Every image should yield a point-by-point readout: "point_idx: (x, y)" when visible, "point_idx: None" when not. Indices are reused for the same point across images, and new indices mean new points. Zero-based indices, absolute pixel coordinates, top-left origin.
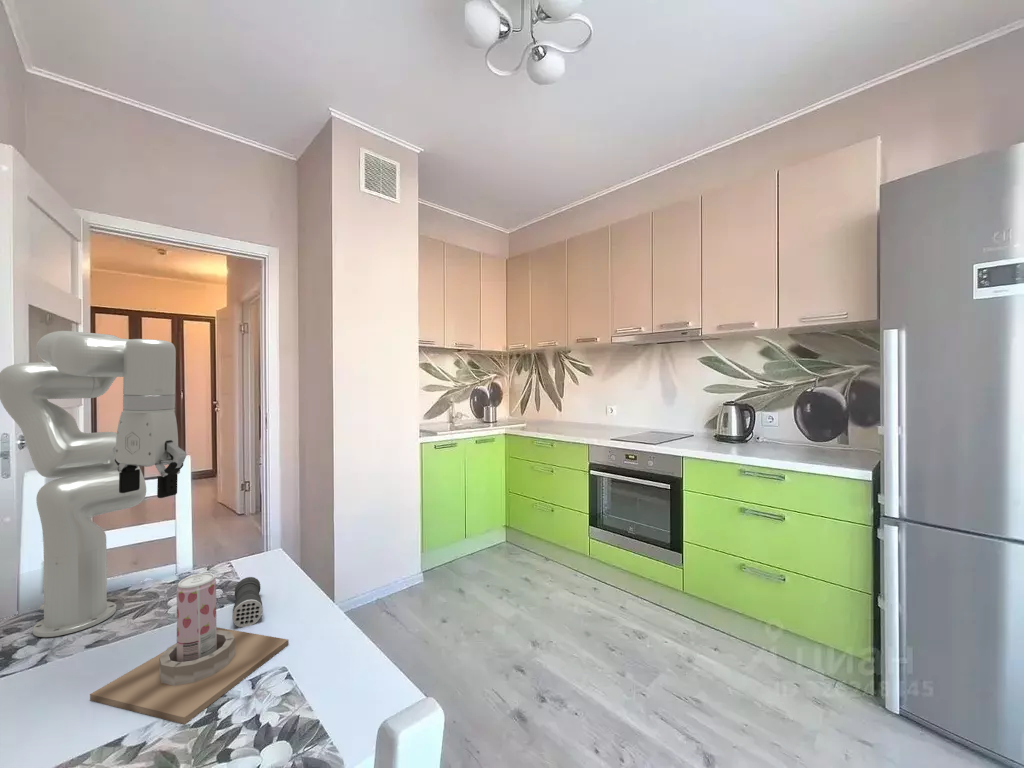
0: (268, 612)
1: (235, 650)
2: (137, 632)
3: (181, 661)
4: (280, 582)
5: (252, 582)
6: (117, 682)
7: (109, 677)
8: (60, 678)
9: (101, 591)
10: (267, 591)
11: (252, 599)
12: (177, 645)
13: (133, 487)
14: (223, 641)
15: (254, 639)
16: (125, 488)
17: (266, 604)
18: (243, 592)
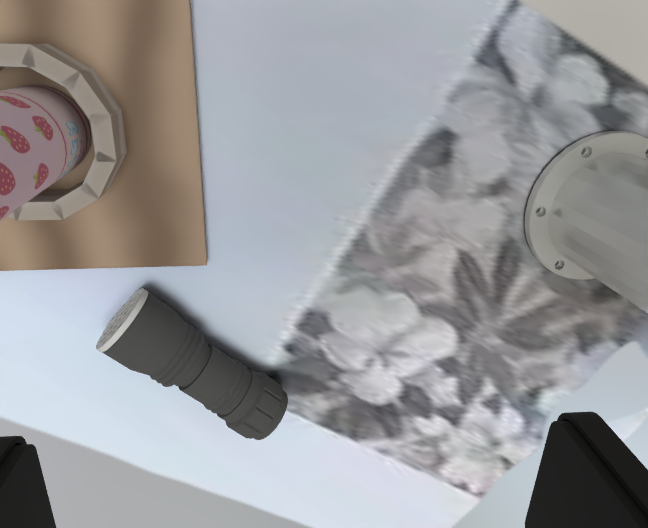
0: None
1: None
2: (386, 209)
3: (22, 87)
4: (250, 466)
5: (229, 418)
6: (169, 17)
7: (246, 49)
8: (367, 17)
9: (585, 257)
10: None
11: (110, 348)
12: (27, 95)
13: (547, 517)
14: None
15: (13, 250)
16: (569, 466)
17: None
18: (199, 375)
